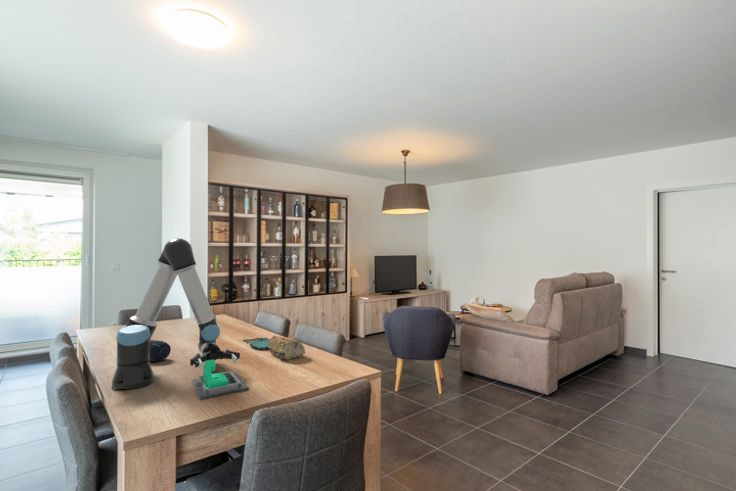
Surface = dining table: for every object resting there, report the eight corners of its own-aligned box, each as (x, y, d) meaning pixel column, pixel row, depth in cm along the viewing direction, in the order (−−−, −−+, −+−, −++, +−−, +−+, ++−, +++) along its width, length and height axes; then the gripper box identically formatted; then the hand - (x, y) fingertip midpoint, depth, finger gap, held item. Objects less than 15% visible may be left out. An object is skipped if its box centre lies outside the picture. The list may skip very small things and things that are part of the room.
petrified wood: (264, 353, 200) (268, 334, 202) (285, 354, 209) (289, 336, 211) (282, 360, 186) (286, 340, 188) (304, 361, 194) (307, 341, 196)
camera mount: (228, 387, 151) (228, 361, 151) (208, 391, 147) (208, 364, 147) (222, 378, 161) (222, 354, 161) (202, 381, 157) (202, 357, 157)
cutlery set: (257, 352, 204) (257, 348, 204) (239, 342, 228) (239, 338, 228) (291, 347, 216) (291, 343, 216) (270, 338, 240) (270, 334, 240)
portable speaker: (117, 360, 191) (117, 340, 191) (135, 354, 200) (135, 336, 201) (157, 364, 184) (157, 344, 184) (173, 358, 193) (173, 339, 193)
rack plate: (199, 399, 141) (199, 393, 141) (191, 381, 160) (191, 376, 160) (248, 389, 151) (248, 383, 151) (235, 374, 169) (235, 368, 169)
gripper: (238, 355, 182) (249, 367, 164) (181, 363, 169) (185, 378, 151) (238, 340, 182) (249, 350, 164) (181, 347, 169) (186, 359, 151)
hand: (218, 363), depth 157 cm, fingers open, 13 cm apart
